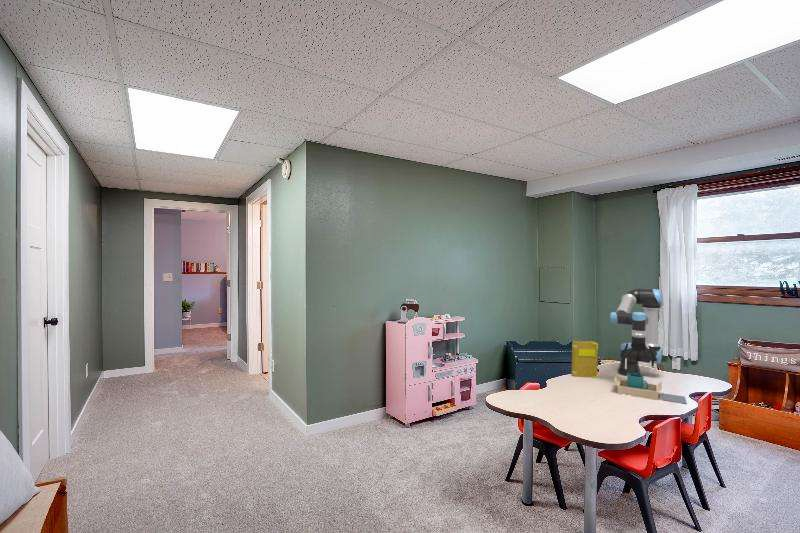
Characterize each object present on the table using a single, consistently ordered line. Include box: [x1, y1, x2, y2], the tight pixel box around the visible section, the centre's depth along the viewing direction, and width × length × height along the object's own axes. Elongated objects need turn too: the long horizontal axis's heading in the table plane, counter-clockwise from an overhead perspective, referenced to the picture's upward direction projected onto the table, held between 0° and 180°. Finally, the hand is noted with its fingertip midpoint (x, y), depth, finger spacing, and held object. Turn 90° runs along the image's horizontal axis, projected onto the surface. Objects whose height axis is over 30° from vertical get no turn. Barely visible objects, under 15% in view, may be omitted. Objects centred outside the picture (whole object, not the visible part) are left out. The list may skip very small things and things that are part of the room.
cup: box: [626, 373, 649, 390], centre depth 255 cm, size 9×12×11 cm
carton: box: [613, 374, 664, 401], centre depth 255 cm, size 18×26×8 cm
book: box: [571, 340, 599, 379], centre depth 294 cm, size 17×7×25 cm, turn 84°
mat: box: [661, 392, 688, 405], centre depth 245 cm, size 15×12×1 cm
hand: (638, 370), depth 255 cm, fingers open, 13 cm apart
